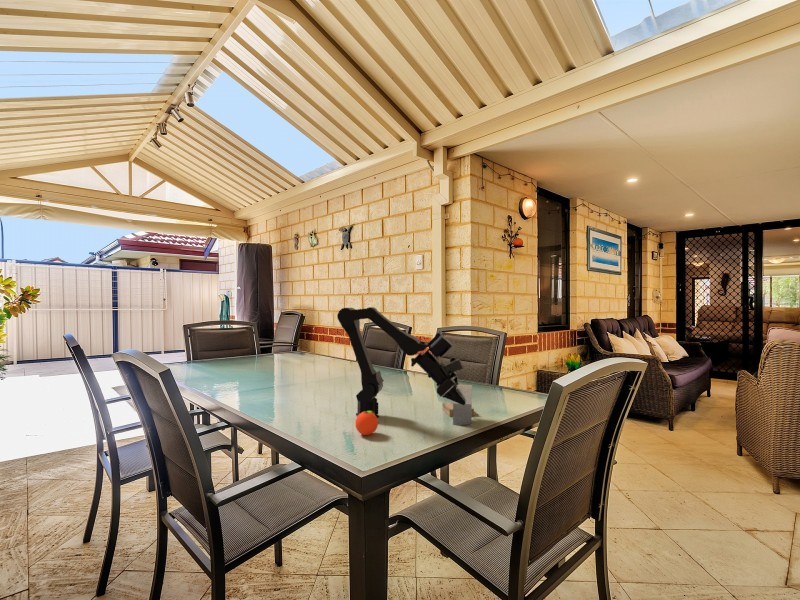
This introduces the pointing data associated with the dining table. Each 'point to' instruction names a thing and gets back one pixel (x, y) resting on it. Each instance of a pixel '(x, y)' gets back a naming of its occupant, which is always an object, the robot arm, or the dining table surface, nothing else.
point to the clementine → (366, 423)
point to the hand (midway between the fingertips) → (465, 400)
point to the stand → (451, 409)
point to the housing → (463, 406)
